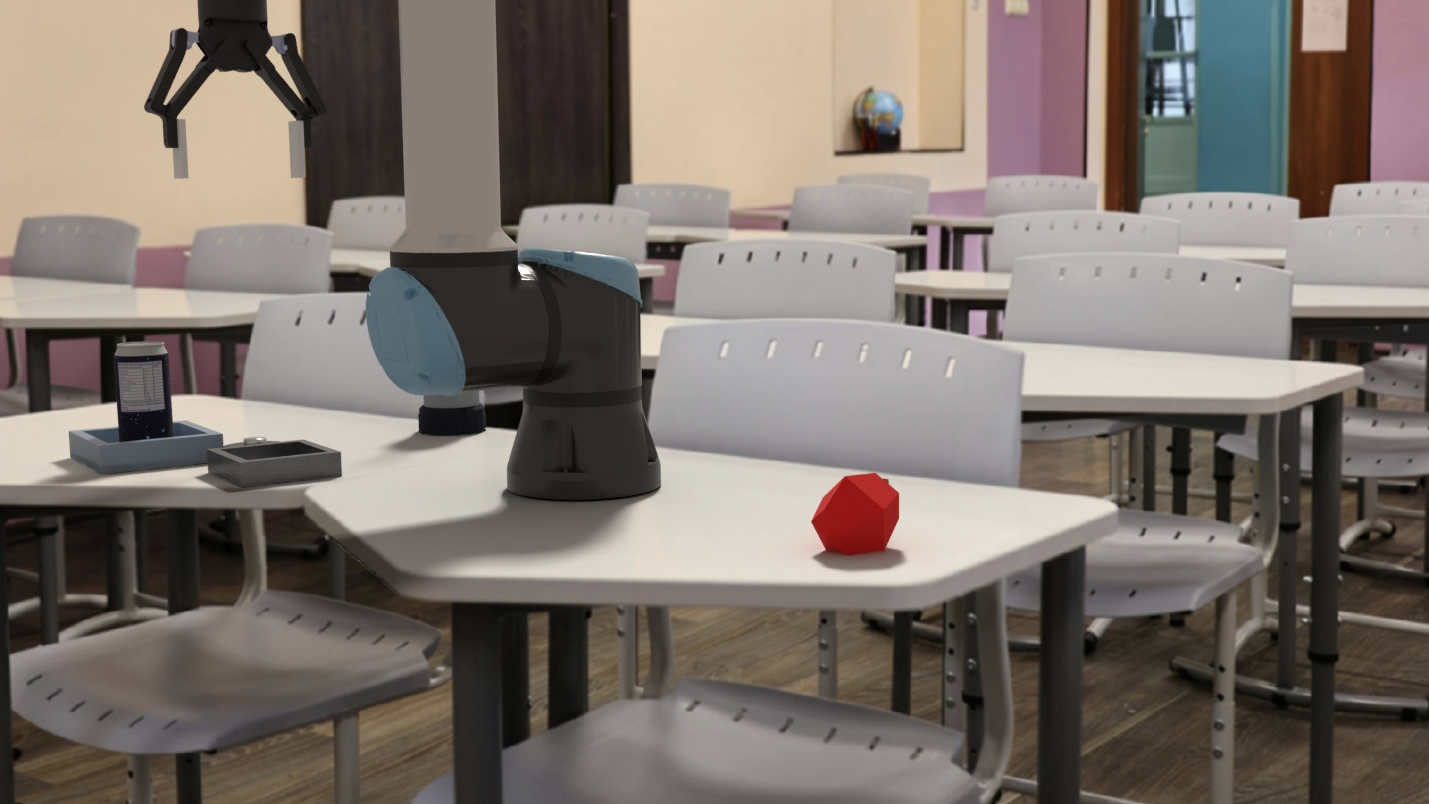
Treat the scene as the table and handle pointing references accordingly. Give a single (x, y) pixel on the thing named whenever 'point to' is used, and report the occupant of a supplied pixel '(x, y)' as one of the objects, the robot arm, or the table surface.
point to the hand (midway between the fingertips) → (241, 178)
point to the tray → (142, 448)
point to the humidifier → (452, 415)
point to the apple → (857, 515)
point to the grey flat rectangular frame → (273, 462)
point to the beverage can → (143, 391)
